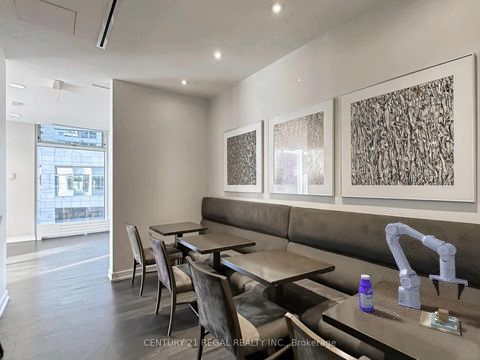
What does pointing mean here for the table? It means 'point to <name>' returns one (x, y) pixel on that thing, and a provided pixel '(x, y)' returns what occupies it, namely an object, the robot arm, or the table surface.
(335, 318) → the table surface
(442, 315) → the panel
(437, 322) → the bosses
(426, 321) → the board
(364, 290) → the bottle
